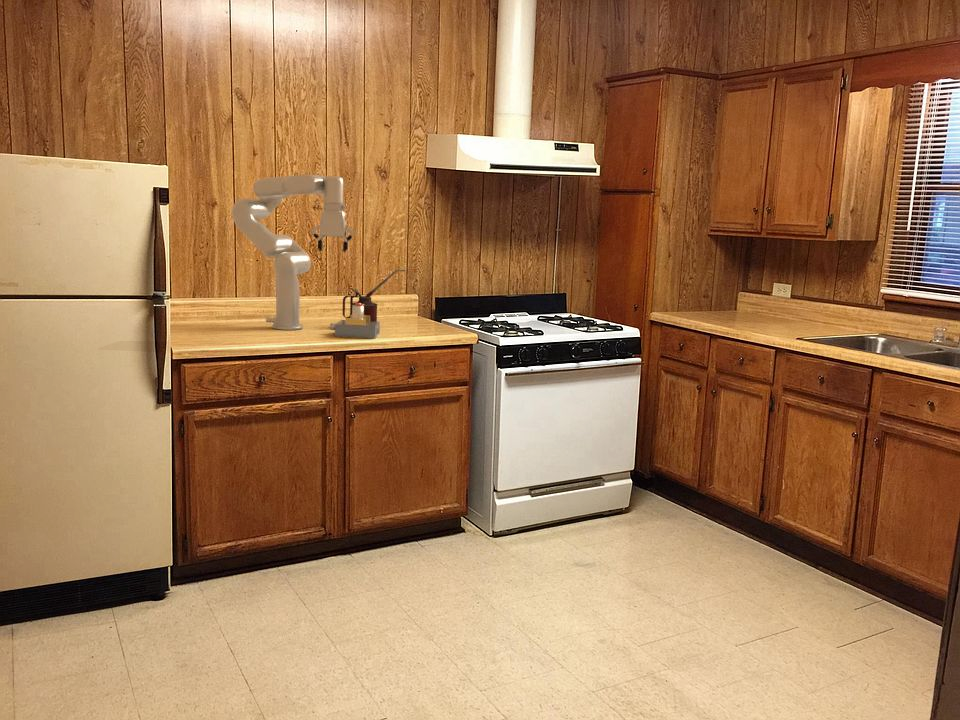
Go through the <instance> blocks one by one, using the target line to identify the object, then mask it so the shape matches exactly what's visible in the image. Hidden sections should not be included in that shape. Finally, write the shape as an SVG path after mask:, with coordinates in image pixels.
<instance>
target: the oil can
mask: <svg viewBox="0 0 960 720" xmlns="http://www.w3.org/2000/svg"><path fill="white" fill-rule="evenodd" d="M397 272H406V270H405V269H396V270H394V271H393V272H392V273H390V274H389V276H387V277H386V278H385V279H384V280H383V281H381V282H380V283H379V284H377V285H376V287H374V288H373V289H372V290H371V291H369V292H368V293H367V294H365V295H361V293H360V292H359V290H358V289H354V288H353V287H349V288H350V290H351V291H352V292H355V295H345V296H343V299H342V316H343V317H344V318H345V319H346V318H350V315H352V305H355V303H361V304H365V306H364V315H370V321H374V322H378V305H379V304H378V303H375V302H373V301H372V296H373V294H374V293H375V292H377V290H378V289H379V288H381V286H383V285H384V284H385V283H386V282H387V281H389V279H390V278H391V277H393V275H394V274H396V273H397ZM347 298H350V302H349V304H350V305H349V306H350V307H349V310H350V311H349V312H350V313H349V316H346V315H345V314H346V299H347ZM354 298H358V301H356V302H353V300H354Z"/></svg>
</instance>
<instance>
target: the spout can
mask: <svg viewBox="0 0 960 720" xmlns="http://www.w3.org/2000/svg"><path fill="white" fill-rule="evenodd" d="M354 303H355V305H352V318H356V319H364V306H365V304H361V303H356V302H354Z"/></svg>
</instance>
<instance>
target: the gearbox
mask: <svg viewBox="0 0 960 720" xmlns="http://www.w3.org/2000/svg"><path fill="white" fill-rule="evenodd" d="M349 316H350V318H345V319H340V320H339V321H337V322H336V323H332V322H331V323H330V325H329V330H330V331H334V337H335V336H349V337H348V338H352V337H366V338H365V339H373V338H375V339H376V338H377V337H378V336H379V335H380V334H379V333H381V332H380V329H381V328H380V326H381V325H380V324H381V321H377V322H374V321H370V315H364V319H356V318H352V315H350V314H349ZM378 334H379V335H378ZM377 335H378V336H377ZM376 336H377V337H376Z"/></svg>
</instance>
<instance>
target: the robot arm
mask: <svg viewBox="0 0 960 720" xmlns="http://www.w3.org/2000/svg"><path fill="white" fill-rule="evenodd" d="M252 191H253V193H254V195H255V196H256V197H257V198H241V199H238V200H237V201H235V202H234V203H233V206H232V210H231V213H232V220H233V222H234V224H235V226H236V228H237V229H238V230H239V231H240V232H241V233H242V234H243V235H244V236H246V238H247V239H248V240H250V241H251V243H252V244H253V245H254V246H255V247H257V249H258V250H259V251H260V252H261V253H262V254H263V255H265V256H266V257H267V258H274V260H273V269H274V275H275V316H274V317H265V322H266V323H273V324H272V325H271V327H272V329H275V330H281V331H282V330H284V331H295V330H302V329H303V328H304V325H303V324H301V323H300V307H301V306H300V303H301V302H300V300H301V299H300V293H301V292H300V288H301V287H300V281H299V278H298V275H302V274H306V273H308V272H309V270H310V269H311V267H312V260H311V258H310V256H309V254H308V253H307V251H305V249H304V248H302V247H301V246H300V245H299V244H298V243H297V242H296V241H295V240H294V239H293V238H292V237H290V236H289V235H287V234H275V233H273V232H271V230H269V229H268V228H267V226H266V225H264V224H263V223H262V222H260V221H258V220H265V219H267V218H268V217H269V216H270V215H271V214H272V213H273V212H274V210H275V209H276V208H277V206H278V205H279V203H280V202H281V201H282V200H283V199H288V198H291V197H293V196H295V195H297V196H298V195H319V196H321V195H323V210H322V211H321V215H320V224H319V225H317V226H315V227H313V228H312V229H311V234H312V235H313V237H314V238H315V239H316V240H317V249H318V250H319V252H322V251H323V249H324V247H323V242H324V241H323V238H324V237H330V238H331V237H333V238H342V240H343V242H342V251H343V253H347V250H348V247H349V244H348V242H349V241H351V239H352V238H353V236H354V235H355V233H356V231H355V230H353V229H351V228H349V227H348V226H347V218H346V216H347V215H346V212H345V211H344V210H346V209H347V207H348V206H347V205H344V179H343V177H341V176H335V175H334V176H330V175H327V176H325V175H318V174H317V175H316V174H297V175H296V174H295V175H287V176H274V177H264V178H259V179H257V180H256V181H255V182H254V183H253V187H252ZM317 231H319V234H318V233H317ZM348 232H349V235H348V236H347V233H348Z"/></svg>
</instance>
